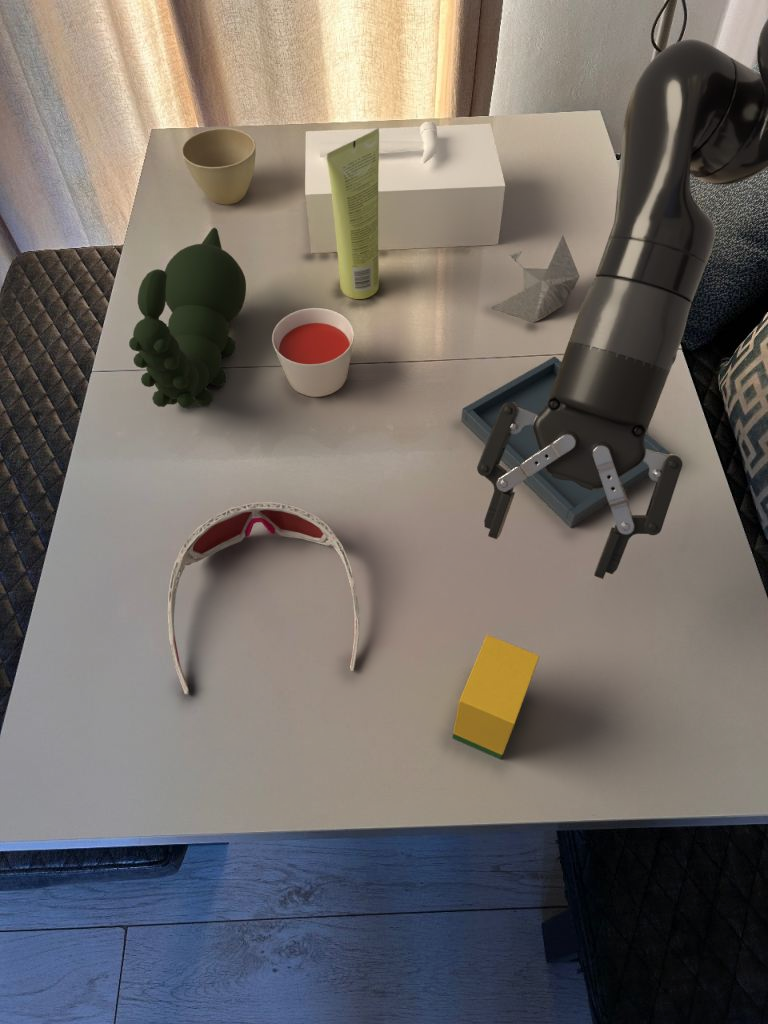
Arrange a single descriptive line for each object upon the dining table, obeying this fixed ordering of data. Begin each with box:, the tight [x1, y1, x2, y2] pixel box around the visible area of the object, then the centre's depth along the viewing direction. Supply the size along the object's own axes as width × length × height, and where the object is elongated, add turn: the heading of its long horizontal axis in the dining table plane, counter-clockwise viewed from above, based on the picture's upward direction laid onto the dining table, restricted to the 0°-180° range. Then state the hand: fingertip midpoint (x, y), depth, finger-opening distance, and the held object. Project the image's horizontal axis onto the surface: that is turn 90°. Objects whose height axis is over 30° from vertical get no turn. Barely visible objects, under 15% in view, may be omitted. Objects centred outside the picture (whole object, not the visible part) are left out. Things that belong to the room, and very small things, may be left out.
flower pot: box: [181, 127, 257, 206], centre depth 107 cm, size 10×10×7 cm
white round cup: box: [271, 307, 355, 398], centre depth 87 cm, size 9×9×6 cm
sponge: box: [452, 634, 540, 760], centre depth 62 cm, size 4×6×9 cm
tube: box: [327, 127, 380, 300], centre depth 90 cm, size 6×5×20 cm
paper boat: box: [491, 234, 580, 323], centre depth 94 cm, size 12×6×9 cm
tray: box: [460, 356, 671, 529], centre depth 82 cm, size 18×14×2 cm
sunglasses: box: [167, 501, 360, 695], centre depth 72 cm, size 17×17×5 cm
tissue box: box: [304, 121, 506, 254], centre depth 102 cm, size 14×25×11 cm, turn 93°
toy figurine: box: [128, 227, 247, 409], centre depth 84 cm, size 9×19×25 cm
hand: (545, 555), depth 60 cm, fingers open, 8 cm apart
